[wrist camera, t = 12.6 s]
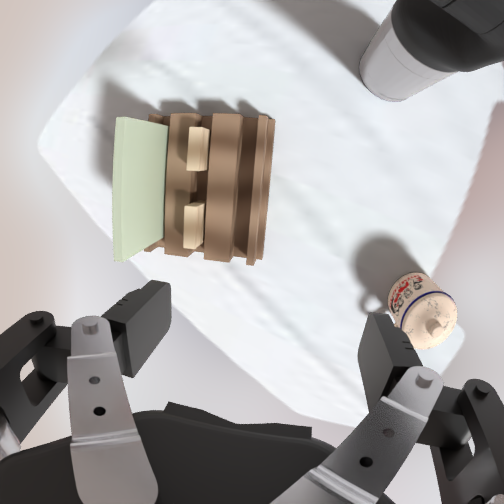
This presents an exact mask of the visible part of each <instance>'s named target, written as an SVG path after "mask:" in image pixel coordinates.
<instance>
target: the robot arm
mask: <svg viewBox="0 0 504 504" xmlns="http://www.w3.org/2000/svg"><path fill="white" fill-rule="evenodd" d="M501 61H504V0H397V1H396V2H395V4H394V5H393V7H392V9H391V10H390V12H389V13H388V15H387V17H386V18H385V19H384V21H383V22H382V24H381V26H380V27H379V29H378V30H377V32H376V34H375V35H374V37H373V39H372V40H371V42H370V44H369V46H368V47H367V49H366V51H365V53H364V54H363V56H362V58H361V60H360V65H359V70H360V75H361V78H362V80H363V82H364V84H365V85H366V87H367V88H368V89H369V90H370V91H371V92H372V93H373V94H375V95H376V96H377V97H379V98H381V99H384V100H387V101H392V102H398V101H403V100H406V99H407V98H409V97H411V96H413V95H415V94H417V93H419V92H420V91H422V90H424V89H426V88H428V87H430V86H432V85H434V84H435V83H437V82H439V81H441V80H443V79H445V78H447V77H449V76H451V75H452V74H454V73H456V72H458V71H461V72H470V71H474V70H477V69H480V68H482V67H485V66H488V65H491V64H495V63H498V62H501ZM170 324H171V286H170V284H169V283H167V282H161V281H156V280H151V281H149V282H148V283H147V284H146V285H145V286H144V287H143V288H141V289H137V290H134V291H132V292H129V293H128V294H126V296H124V297H123V298H122V300H119V301H118V302H117V303H116V304H115V305H113V306H112V307H111V308H110V309H109V310H108V311H106V312H105V313H104V314H103V315H102V316H101V317H99V316H86V317H82V318H80V319H78V320H76V321H75V322H74V323H73V324H72V327H64V326H56V325H55V321H54V316H53V315H52V314H51V313H49V312H46V311H36V312H32V313H29V314H27V315H25V316H24V317H23V318H21V319H20V320H19V321H17V322H16V323H15V324H14V325H12V326H11V327H10V328H8V329H7V330H6V331H4V332H3V333H2V334H1V335H0V504H395V503H394V502H393V501H392V500H391V499H390V498H389V497H388V496H387V495H385V494H384V493H383V492H384V491H385V489H386V488H387V487H388V485H389V484H390V482H391V481H392V479H393V478H394V476H395V475H396V473H397V472H398V470H399V469H400V467H401V466H402V464H403V463H404V461H405V459H406V458H407V456H408V455H409V453H410V451H411V450H412V448H413V446H414V445H415V443H420V444H425V445H430V449H431V453H432V457H433V462H434V466H435V470H436V475H437V480H438V485H439V490H440V496H441V501H442V504H504V405H503V403H502V401H501V400H500V398H499V396H498V395H497V392H496V391H495V389H494V388H493V387H492V386H491V385H490V384H489V383H487V382H485V381H483V380H480V379H470V380H468V381H467V382H466V383H465V385H464V387H463V388H462V390H459V389H454V388H450V387H446V386H443V379H442V378H441V376H440V375H439V374H438V373H437V372H435V371H434V370H432V369H430V368H427V367H423V365H422V363H421V361H420V359H419V357H418V355H417V353H416V351H415V350H414V347H413V345H412V343H411V341H410V339H409V337H408V335H407V334H406V333H405V332H404V331H403V330H401V329H400V328H399V327H395V326H394V324H393V322H392V320H391V318H390V316H389V314H382V313H372V312H371V313H370V314H369V316H368V318H367V322H366V325H365V328H364V332H363V335H362V338H361V342H360V345H359V349H358V363H359V367H360V372H361V376H362V381H363V385H364V390H365V395H366V400H367V404H368V409H369V414H368V415H367V416H366V417H365V418H364V419H363V421H362V422H361V423H360V424H359V425H358V426H357V427H356V428H355V429H354V431H353V432H352V433H351V434H350V435H349V436H348V437H347V438H346V439H345V440H344V441H343V442H342V443H341V445H340V446H338V447H337V448H335V447H333V446H332V445H330V444H328V443H326V442H323V441H321V440H318V439H316V438H312V437H311V435H312V434H311V433H312V427H306V426H296V425H288V424H279V423H267V424H235V423H232V422H230V421H227V420H225V419H222V418H220V417H218V416H215V415H213V414H210V413H208V412H206V411H204V410H201V409H197V408H192V407H188V406H184V405H180V404H176V403H172V402H168V404H167V406H166V408H165V409H164V411H162V410H150V411H142V412H137V413H133V414H132V412H131V409H130V405H129V402H128V398H127V394H126V391H125V387H124V383H123V380H122V376H121V375H125V376H128V377H131V378H134V377H135V375H136V374H137V373H138V371H139V370H140V368H141V367H142V366H143V364H144V363H145V362H146V360H147V359H148V357H149V356H150V355H151V353H152V352H153V350H154V349H155V348H156V346H157V345H158V344H159V342H160V341H161V340H162V338H163V337H164V336H165V334H166V333H167V332H168V330H169V327H170ZM30 359H32V362H33V365H34V368H35V369H34V370H33V371H32V372H31V373H30V374H29V375H28V376H27V377H26V378H25V379H24V380H23V381H22V382H21V380H20V371H21V369H22V367H23V366H24V365H25V364H26V363H27V362H28V361H29V360H30ZM67 384H68V397H69V411H70V422H71V432H72V436H69V437H66V438H63V439H60V440H56V441H53V442H50V443H47V444H44V445H40V446H37V447H33V448H30V449H26V450H22V451H20V448H21V447H20V444H21V442H22V441H23V440H24V439H25V437H26V436H27V435H28V433H29V432H30V431H31V429H32V428H33V427H34V425H35V424H36V423H37V422H38V420H39V419H40V418H41V417H42V415H43V414H44V413H45V411H46V410H47V409H48V408H49V406H50V405H51V403H53V401H54V400H55V399H56V397H57V396H58V395H59V394H60V393H61V391H62V390H63V389H64V388H65V387H66V385H67ZM471 437H472V439H473V441H474V444H475V453H474V456H473V455H472V452H471V450H470V447H469V444H468V441H469V440H470V438H471Z"/></svg>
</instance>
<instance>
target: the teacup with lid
mask: <svg viewBox="0 0 504 504" xmlns="http://www.w3.org/2000/svg"><path fill="white" fill-rule="evenodd" d="M388 307H389V310H390V312H391V314H392V316H393V318H394V320H395V321H396V322H395V324H394V326H395V327H399V328H400V329H401V330H403V331H404V332H405V333H406V334H407V335H408V337H409V339H410V341H411V343H412V345H413V347H414V348H415V349H429V348H433V347H435V346H437V345H439V344H440V343H442V342H443V341H444V340H445V339H446V338H447V337H448V336H449V335H450V333H451V332H452V330H453V328H454V326H455V323H456V319H457V309H456V304H455V302H454V300H453V299H452V298H451V296H450V295H448V294H446V293H445V292H443V291H442V290H441V289H440V288H439V287H438V286H437V285H436V284H435V283H434V282H433V281H432V280H431V279H430V278H429V277H428V276H427V275H425V274H422V273H409V274H407V275H404V276H403V277H401V278H400V279H399V280H397V281H396V283H395V284H394V285H393V287H392V288H391V290H390V293H389V296H388Z"/></svg>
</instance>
